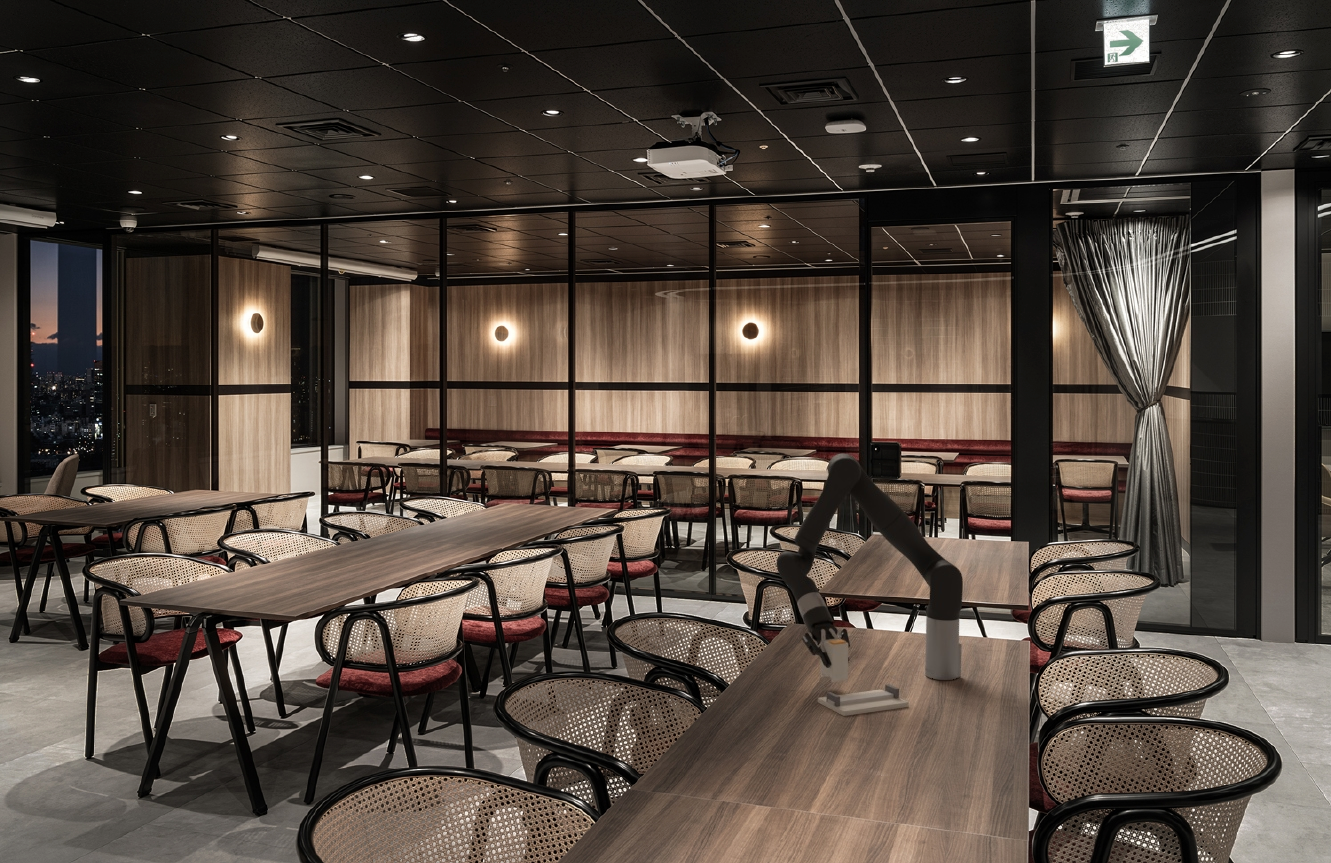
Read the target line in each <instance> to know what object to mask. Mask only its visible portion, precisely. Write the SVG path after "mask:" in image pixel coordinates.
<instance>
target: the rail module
mask: <svg viewBox="0 0 1331 863" xmlns="http://www.w3.org/2000/svg"><path fill="white" fill-rule="evenodd" d="M823 642H824V647H825V649H826V651H825V652H827V654H828V657H829V659H830V661H831V666H830V667H829V668H826V666H824V664H823V662H822V660H821V658H820V661H819V662H820V664H819V665H820V668H819V669H820V677H821V678H826V677H829V678H830V682H831V683H837V682H838V683H839V682H846V681H849V663H848V657H849V648H848V643H846V641H844V640H841V639H840V640H839V639H837V640H836V639H829V640H826V641H823Z"/></svg>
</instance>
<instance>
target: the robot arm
mask: <svg viewBox="0 0 1331 863" xmlns="http://www.w3.org/2000/svg"><path fill="white" fill-rule="evenodd" d="M827 474H828V475H827V478H826V481H825V484H824V486H823V489H822V491H821V493H820V495H819V496H818V499H817V500H816V502H815V503H814V505H813V506H812V507H811V509H810V510H809V512H808V514H807V515H806V516H805V518H804V519H803V521H802V524H801V525H800V527H799V529H798V530H797V533H796V534H795V537H794V543H795V544H796V545H797V546H798V549H797V550H798V551H797V553H796V552H792V551H783V552H781V553H780V554H778V557H777V558H776V569H777V572H778V574H779V576H780V578H782V580H783V582H784V583H785V585H786V586H787V587H788V589H790V591H791V592H792V595H793V597H794V599H795V601H796V604H797V607H798V610H799V613H800V616H801V618H802V620H803V622H804V624H805V626H806V629H807V631H808V632H805V634H803V636H802V637H801V640H802V641H803V643H804V644H805V646H806V648H807V649H808V650H809V652H810V653H811V655H812V656H816V655H817V656H818V657H819V658H820V659H821V660H822V662H823V664H824V666H826V668H829V667H830V666H831V661H830V659H829V657H828V654H827V652H825V651H826V649H825V647H824V642H823V641H826V640H829V639H836V640H837V639H839V640H840V639H841V640H844V641H846V643H848V649H849V648H850V647H851V644H850V638H849V634H848V630H847V629H846V628H843V629H838V628H837V627H836V626H835V624H834V619H833V618H832V615H831V613H830V611H829V609H828V606H827V605H826V602H825V600H824V598H823V597H822V595H821V594H820V591H819V589H818V587H817V584H816V583H815V580H813V579H812V578H811V577H809V576H807V575H809V573H810V572H811V570H812V568H813V566H814V562H815V557H816V552H817V549H818V547H819V544H820V543H821V541H822V539H823V537H824V535H825V533H826V531H827V530H828V528H829V526H830V524H831V522H832V520H833V519H834V516H835V514H836V512H837V510H838V509H839V507H840V505H841V504H842V503H843V501H844V499H845V498H846V497H847V496H848V494H849V495H850V496H851V498H853V499H854V500H855V501H856V503H857V504H858V505H859V507H860V508H861V509H862V511H863V513H864V514H865V516H866V517H867V519H868V520H869V521H870V523H871V524H872V525H873V526H874V528H875V529H876V530H877V531H878V532H879V534H881V535H882V537H883V538H884V539H885V540H886V541H887V542H888V543H890V545H891V546H893V547H894V548H895V550H897V551H898V552H899V553H900V554H902V555H903V556H904V557H906V558H907V559H908V560H909V562H911V564H912V565H913V566H914V567H915V569H916V570H917V571H918V572H919V574H920V575H921V577H922V579H924V581H925V583H926V584H927V585H928V587H929V601H928V605H927V606H926V610H925V611H926V612H925V613H926V615H925V616H926V620H925V621H926V622H925V659H924V661H925V663H924V675H925V677H927V678H930V679H932V678H933V680H939V681H953V679H954V680H957V679H958V678H961V677H962V649H963V648H962V643H960V617H961V616H960V614H961V611H962V606H963V589H964V584H963V583H964V582H963V575H962V572H961V570H960V569H959V568H958V567H957V566H956V565H954V564H953V563H951V562H949V561H948V560H947V559H945V557H943V556H942V555H941V554H940V553H938V552H937V550H935V549H934V548H933V547H932V546H931V545H930V544H929V543H928V541H927V540H926V538H925V537H924V536H923V534H922V532H921V531H920V529H919V528H918V526H917V525H916V524H915V522H914V521H913V520H912V518H911V517H910V516H909V515H908V514H907V513H906V512H905V511H904V509H902V508H901V507H900V506H899V505H898V504H897V503H896V502H895V500H893V499H892V498H891V497H889V495H888V494H886V492H885V491H883V490H882V489H881V488H879V487H878V486H877V484H875V483H874V481H873V480H872V479H871V478H870V476H869V475H868V473H866V472H865V470H864V468H863V467H862V465H860V463H859V461H858V460H857V458H855V456H853V455H851V454H849V453H838V454H835V455H834V456H832V457H831V458H830V460H829V462H828V465H827ZM849 663H850V657H849V656H848V664H849ZM956 678H957V679H956Z"/></svg>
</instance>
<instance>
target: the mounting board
mask: <svg viewBox="0 0 1331 863" xmlns="http://www.w3.org/2000/svg"><path fill="white" fill-rule="evenodd" d="M884 689H885V690H884ZM884 689H875V690H868V691H867V690H866V691H859V692H852V693H845V694H843V693H842V694H836V693H834V692H831V691H828V692H826V696H823V697H817V703H818V704H820V705H822V706H824V707H826V708H828V709H830V710H831V711H834V712H835V713H837V714H839V715H841V716H843V717H846V716H854V715H861V714H867V713H875V712H881V711H889V710H896V709H902V708H909V705H910V704H909V701H907V700H905V699H902V698H901V697H900V688H898V687H896V686H893V685H891V684H890V683H888V684H885V685H884Z"/></svg>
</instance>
